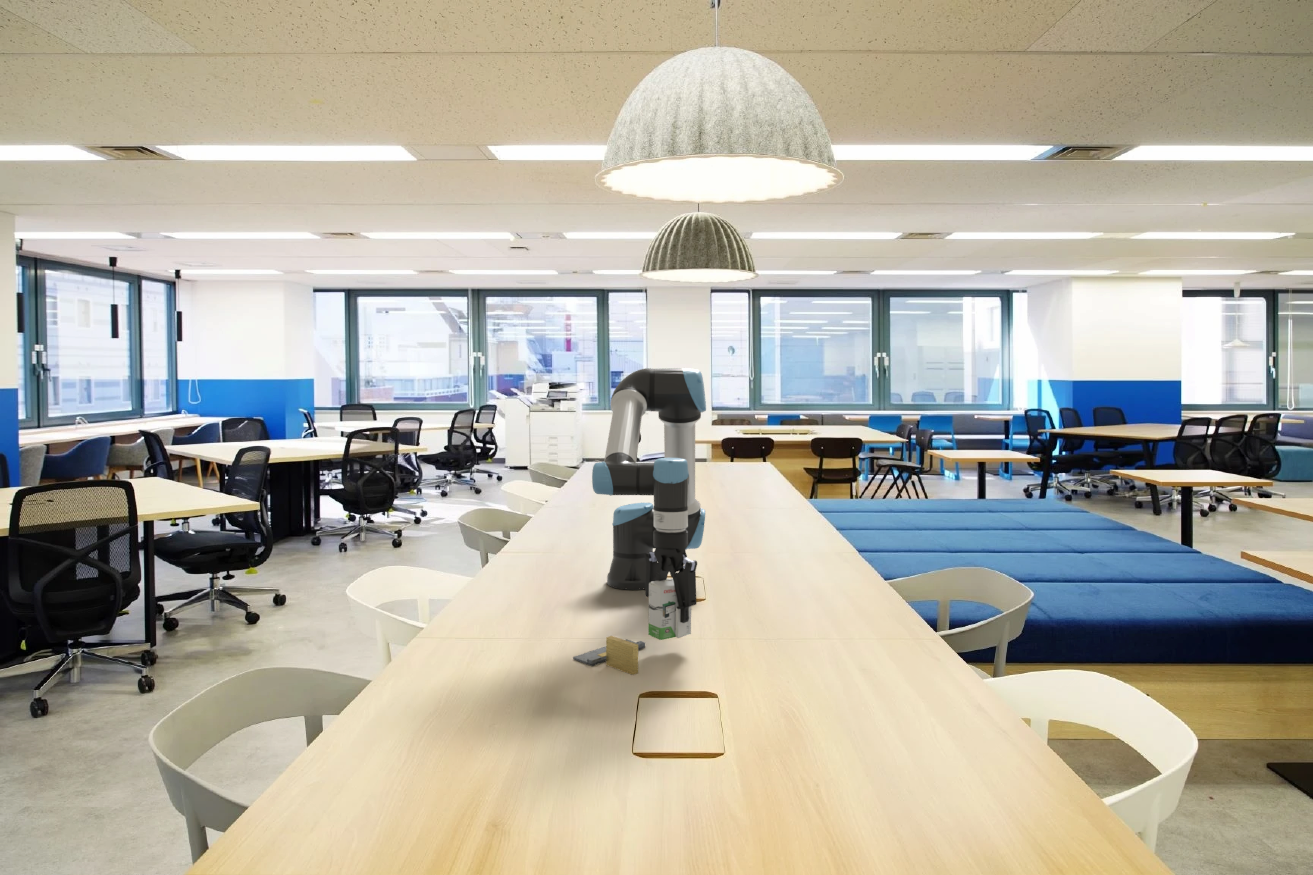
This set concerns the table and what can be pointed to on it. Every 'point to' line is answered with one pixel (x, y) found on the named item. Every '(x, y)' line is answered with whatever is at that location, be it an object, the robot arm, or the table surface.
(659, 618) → the ink box
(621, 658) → the rail
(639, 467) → the robot arm
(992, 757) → the table surface
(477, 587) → the table surface
